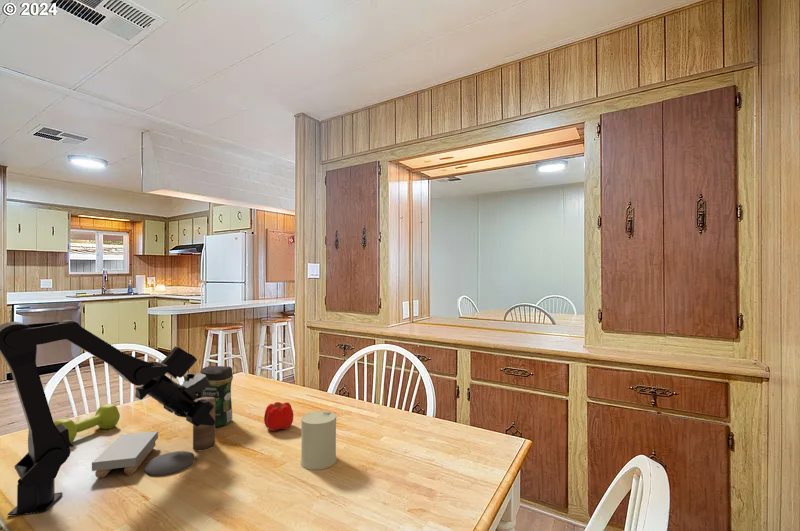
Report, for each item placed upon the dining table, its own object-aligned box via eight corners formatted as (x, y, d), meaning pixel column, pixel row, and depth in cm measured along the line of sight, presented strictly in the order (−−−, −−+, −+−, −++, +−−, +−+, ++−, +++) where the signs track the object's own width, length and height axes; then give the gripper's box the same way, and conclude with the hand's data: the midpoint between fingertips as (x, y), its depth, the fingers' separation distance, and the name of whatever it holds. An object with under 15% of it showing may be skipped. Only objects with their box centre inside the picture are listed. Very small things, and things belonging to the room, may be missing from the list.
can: (343, 457, 102) (343, 412, 103) (319, 473, 94) (320, 424, 95) (317, 449, 107) (317, 406, 107) (293, 464, 99) (293, 417, 99)
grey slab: (135, 475, 93) (135, 457, 93) (91, 481, 91) (91, 462, 91) (157, 446, 109) (158, 431, 109) (121, 450, 106) (121, 434, 106)
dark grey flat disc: (188, 472, 95) (188, 469, 95) (137, 478, 92) (137, 475, 92) (199, 451, 106) (199, 449, 106) (153, 456, 103) (153, 453, 103)
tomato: (294, 431, 119) (295, 407, 119) (264, 435, 116) (264, 410, 116) (291, 420, 128) (291, 397, 128) (263, 424, 125) (263, 401, 125)
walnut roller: (212, 449, 107) (213, 402, 107) (190, 451, 106) (190, 404, 106) (216, 440, 112) (217, 396, 113) (195, 442, 111) (196, 397, 111)
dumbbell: (64, 450, 107) (64, 424, 107) (45, 445, 109) (45, 420, 109) (122, 427, 122) (123, 404, 123) (105, 423, 125) (105, 401, 125)
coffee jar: (194, 427, 122) (194, 368, 122) (210, 417, 130) (210, 362, 130) (222, 429, 121) (222, 369, 121) (236, 419, 129) (236, 363, 129)
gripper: (206, 372, 100) (245, 402, 109) (175, 361, 112) (213, 390, 120) (173, 411, 94) (217, 440, 103) (144, 395, 106) (186, 423, 114)
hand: (209, 421), depth 110 cm, fingers closed on walnut roller, 6 cm apart
